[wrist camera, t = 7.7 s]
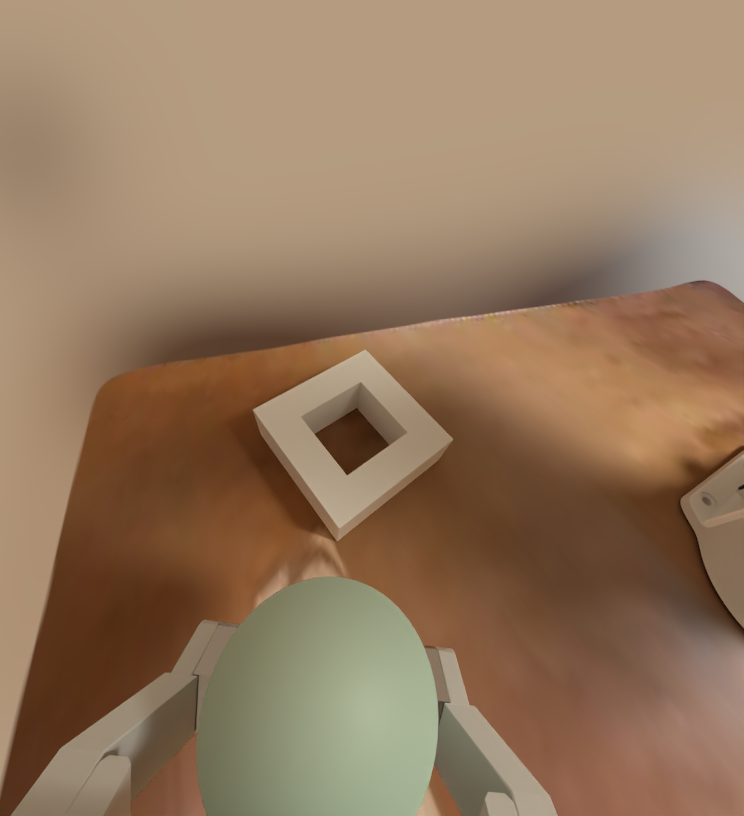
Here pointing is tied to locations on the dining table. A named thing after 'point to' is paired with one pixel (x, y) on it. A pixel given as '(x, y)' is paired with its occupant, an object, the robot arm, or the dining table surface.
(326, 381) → the well block
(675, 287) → the dining table surface
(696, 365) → the dining table surface
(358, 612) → the green dowel
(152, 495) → the dining table surface
